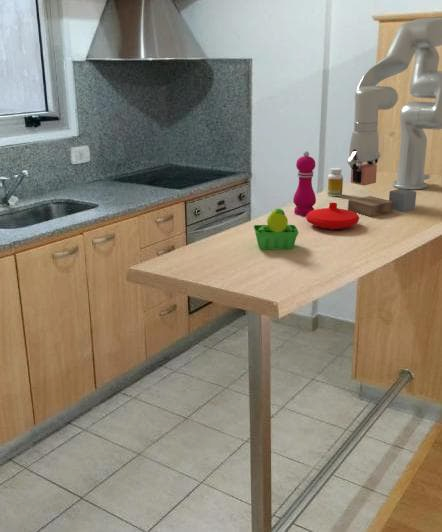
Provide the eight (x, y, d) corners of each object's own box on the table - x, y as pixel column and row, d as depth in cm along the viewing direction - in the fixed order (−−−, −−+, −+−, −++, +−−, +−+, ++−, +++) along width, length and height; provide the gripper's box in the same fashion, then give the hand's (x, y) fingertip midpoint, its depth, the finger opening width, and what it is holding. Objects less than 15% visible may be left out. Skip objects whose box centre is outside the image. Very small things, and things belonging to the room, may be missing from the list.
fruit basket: (294, 242, 165) (295, 201, 162) (299, 252, 157) (300, 210, 153) (252, 242, 165) (253, 202, 161) (255, 252, 157) (256, 210, 153)
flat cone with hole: (365, 223, 183) (367, 200, 180) (348, 236, 170) (350, 212, 168) (317, 217, 190) (318, 195, 188) (297, 229, 177) (297, 205, 175)
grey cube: (399, 206, 202) (401, 188, 200) (414, 209, 198) (416, 191, 196) (388, 208, 199) (389, 191, 197) (403, 212, 195) (404, 194, 193)
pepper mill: (289, 214, 193) (291, 152, 186) (297, 209, 199) (299, 149, 192) (310, 217, 190) (313, 153, 183) (318, 212, 196) (321, 150, 189)
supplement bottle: (343, 196, 216) (344, 169, 213) (328, 196, 216) (329, 170, 213) (340, 193, 221) (342, 167, 218) (326, 193, 221) (327, 167, 218)
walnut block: (369, 207, 202) (370, 195, 201) (392, 213, 194) (393, 201, 193) (347, 212, 197) (348, 200, 196) (370, 218, 189) (371, 206, 188)
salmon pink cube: (362, 179, 211) (363, 162, 208) (375, 182, 206) (376, 165, 204) (350, 182, 207) (351, 165, 205) (364, 185, 203) (365, 168, 201)
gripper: (373, 123, 207) (371, 174, 214) (339, 129, 198) (337, 183, 205) (391, 125, 202) (388, 178, 208) (356, 131, 192) (354, 186, 199)
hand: (363, 180), depth 206 cm, fingers closed on salmon pink cube, 6 cm apart
